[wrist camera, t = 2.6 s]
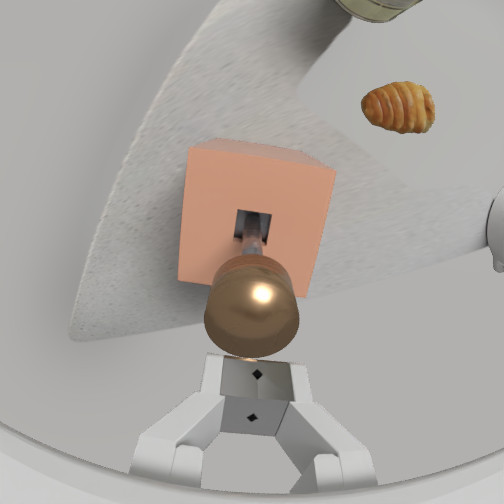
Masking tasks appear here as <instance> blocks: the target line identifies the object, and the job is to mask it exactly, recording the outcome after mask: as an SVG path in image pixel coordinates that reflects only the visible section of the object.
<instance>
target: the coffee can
mask: <svg viewBox="0 0 504 504" xmlns="http://www.w3.org/2000/svg"><path fill="white" fill-rule="evenodd" d="M335 1H336V2H337V3H338V4H339V5H340V6H341V7H342V8H343V9H344V10H345V11H346V12H348V13H349V14H351V15H352V16H354V17H357V18H359V19H361V20H364V21H367V22H372V23H384V22H388V21H391V20H393V19H394V18H396V17H397V16H398V15H399V14H401V13H403V12H404V11H406V10H407V9H409V8H411V7H412V6H414V5H416V4H417V3H419V2H421V1H422V0H335Z"/></svg>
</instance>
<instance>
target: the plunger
mask: <svg viewBox="0 0 504 504" xmlns="http://www.w3.org/2000/svg"><path fill="white" fill-rule="evenodd" d="M270 217H271V214H267V213H260V212H254V211H247V210H240V209H238V210H237V217H236V224H235V231H234V238H240V239H243V241H242V253H241V255H240V256H237V257H234V258H232V259H230V260H228V261H227V262H225V263H224V264H223V265H222V266H221V267H220V268H219V269H218V270H217V272H216V274H215V275H214V278H213V281H212V285H211V289H210V293H209V297H208V302H207V306H206V310H205V315H204V324H205V328H206V331H207V333H208V335H209V337H210V339H211V340H212V341H213V342H214V343H215V344H216V345H217V346H218V347H219V348H221V349H222V350H224V351H226V352H228V353H230V354H232V355H235V356H239V357H245V358H259V357H264V356H269V355H271V354H274V353H276V352H278V351H280V350H282V349H283V348H284V347H286V346H287V345H288V344H289V343H290V342H291V341H292V339H293V338H294V337H295V335H296V333H297V330H298V327H299V312H298V308H297V303H296V299H295V294H294V290H293V285H292V281H291V278H290V276H289V274H288V272H287V271H286V269H285V268H284V267H283V266H282V265H281V264H280V263H279V262H277V261H276V260H274V259H272V258H270V257H267V256H264V255H263V249H262V242H266V239H267V233H268V228H269V222H270Z"/></svg>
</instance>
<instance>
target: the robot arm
mask: <svg viewBox="0 0 504 504" xmlns="http://www.w3.org/2000/svg"><path fill="white" fill-rule="evenodd" d="M487 238H488V244H489V247H490V250H491V252H492V255H493V267H494V270H495V271H497V272H504V187H503V188H502V189H501V190H500V192H499V193H498V195H497V197H496V198H495V200H494V203H493V205H492V208H491V211H490V215H489V219H488V227H487ZM220 432H228V433H241V434H253V435H263V436H275V438H276V440H277V441H278V443H279V444H280V445H281V447H282V448H283V450H284V451H285V452H286V454H287V455H288V457H289V458H290V459H291V461H292V462H293V463H294V464H295V466H296V467H297V469H298V470H299V471H300V473H301V474H302V476H301V477H300V479H299V480H298V481H297V483H296V484H295V485H294V487H293V488H292V489H291V490H290V494H260V493H240V492H228V491H218V490H209V489H202V488H200V486H201V474H202V462H203V451H204V450H205V449H206V448H207V447H208V446H209V445H210V443H211V442H212V441H213V440H214V439H215V438H216V436H218V434H219V433H220ZM0 504H504V448H502V449H500V450H498V451H495V452H493V453H491V454H488V455H486V456H483V457H481V458H478V459H475V460H473V461H470V462H467V463H465V464H462V465H459V466H456V467H453V468H450V469H447V470H443V471H440V472H436V473H433V474H429V475H426V476H422V477H417V478H413V479H409V480H405V481H400V482H395V483H390V484H385V485H379V486H378V483H377V479H376V475H375V471H374V467H373V464H372V460H371V456H370V453H369V450H368V449H367V448H366V447H365V446H363V444H361V443H360V442H359V441H358V440H357V439H356V438H355V437H354V436H353V435H352V434H350V433H349V432H348V431H347V430H346V429H345V428H344V427H343V426H342V425H341V424H340V423H339V422H338V421H337V420H336V419H335V418H333V417H332V416H331V415H330V414H329V413H328V412H327V411H326V410H325V409H324V408H323V407H322V406H321V405H320V404H319V403H313V398H312V393H311V387H310V382H309V377H308V372H307V367H306V365H305V363H293V362H289V363H287V362H276V361H266V360H255V359H248V358H240V357H234V356H227V355H225V356H223V355H218V354H212V353H207V355H206V358H205V364H204V370H203V375H202V381H201V387H200V392H193V393H192V394H191V395H190V396H189V397H187V398H186V399H185V400H184V401H182V402H181V403H180V404H179V405H177V406H176V407H175V408H174V409H172V410H171V411H170V412H169V413H167V414H166V415H165V416H163V417H162V418H161V419H160V420H158V421H157V422H156V423H154V424H153V425H152V426H151V427H149V428H148V429H147V430H145V431H144V432H143V433H141V434H140V436H139V439H138V443H137V446H136V449H135V453H134V456H133V460H132V463H131V467H130V471H129V474H127V473H124V472H120V471H116V470H113V469H109V468H106V467H103V466H100V465H97V464H94V463H91V462H88V461H86V460H82V459H80V458H77V457H74V456H72V455H69V454H67V453H64V452H62V451H59V450H57V449H55V448H52V447H50V446H48V445H46V444H43V443H41V442H39V441H37V440H35V439H33V438H30V437H28V436H26V435H24V434H22V433H20V432H18V431H16V430H15V429H13V428H11V427H9V426H7V425H5V424H3V423H2V422H0Z"/></svg>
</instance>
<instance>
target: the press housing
mask: <svg viewBox="0 0 504 504" xmlns="http://www.w3.org/2000/svg"><path fill="white" fill-rule="evenodd" d="M335 176H336V170H334V169H332V168H331V167H329V166H327V165H325V164H324V163H322V162H320V161H318V160H316V159H315V158H313V157H311V156H309V155H307V154H305V153H304V152H302V151H297V150H292V149H286V148H281V147H275V146H269V145H263V144H257V143H250V142H243V141H236V140H228V139H221V138H215V139H212V140H209V141H206V142H203V143H200V144H197V145H194V146H191V147H189V152H188V160H187V169H186V178H185V188H184V198H183V209H182V221H181V234H180V248H179V265H178V280H179V281H186V282H192V283H199V284H205V285H212V281H213V278H214V275H215V274H216V272H217V270H218V269H219V268H220V267H221V266H222V265H223V264H224V263H225V262H227V261H228V260H230V259H232V258H234V257H237V256H240V255H241V253H242V241H243V239H240V238H234V231H235V224H236V217H237V210H238V209H240V210H247V211H254V212H260V213H267V214H271V217H270V222H269V228H268V233H267V239H266V242H262V249H263V255H264V256H267V257H270V258H272V259H274V260H276V261H277V262H279V263H280V264H281V265H282V266H283V267H284V268H285V269H286V271H287V272H288V274H289V276H290V278H291V281H292V285H293V290H294V294H295V297H302V298H306V295H307V291H308V287H309V284H310V280H311V276H312V273H313V269H314V265H315V261H316V257H317V253H318V249H319V245H320V241H321V237H322V233H323V229H324V225H325V221H326V216H327V212H328V208H329V203H330V199H331V194H332V190H333V185H334V181H335Z"/></svg>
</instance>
